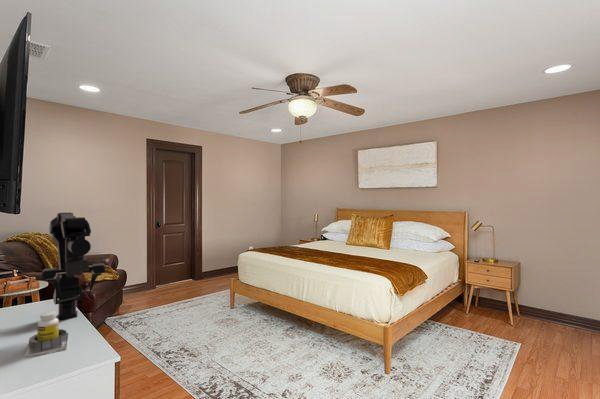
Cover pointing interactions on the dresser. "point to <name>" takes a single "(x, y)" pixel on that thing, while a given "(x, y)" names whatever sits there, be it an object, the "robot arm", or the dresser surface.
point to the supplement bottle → (48, 326)
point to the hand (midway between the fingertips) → (75, 294)
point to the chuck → (47, 344)
